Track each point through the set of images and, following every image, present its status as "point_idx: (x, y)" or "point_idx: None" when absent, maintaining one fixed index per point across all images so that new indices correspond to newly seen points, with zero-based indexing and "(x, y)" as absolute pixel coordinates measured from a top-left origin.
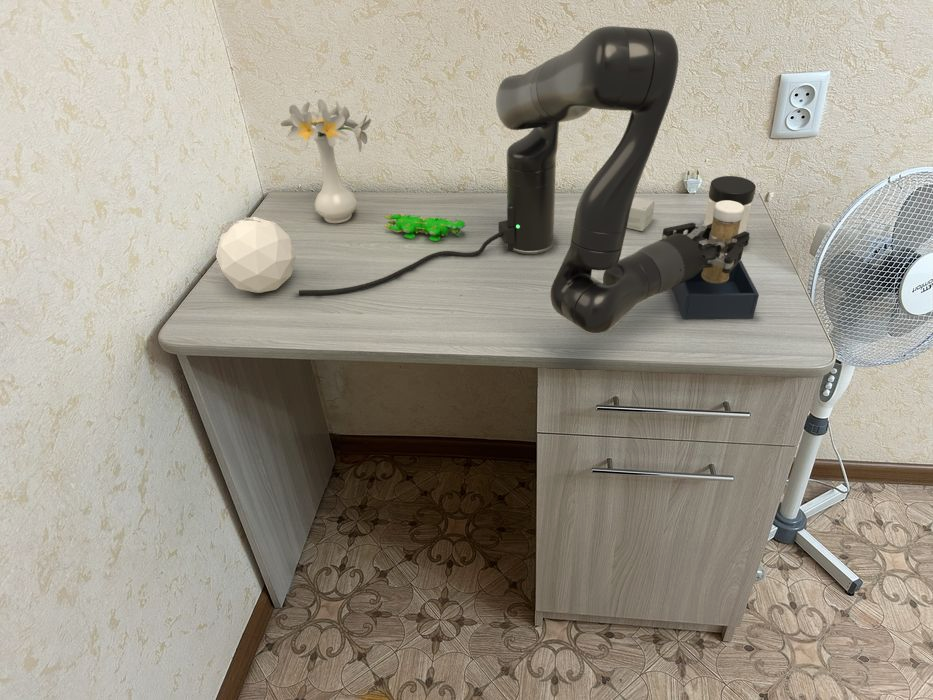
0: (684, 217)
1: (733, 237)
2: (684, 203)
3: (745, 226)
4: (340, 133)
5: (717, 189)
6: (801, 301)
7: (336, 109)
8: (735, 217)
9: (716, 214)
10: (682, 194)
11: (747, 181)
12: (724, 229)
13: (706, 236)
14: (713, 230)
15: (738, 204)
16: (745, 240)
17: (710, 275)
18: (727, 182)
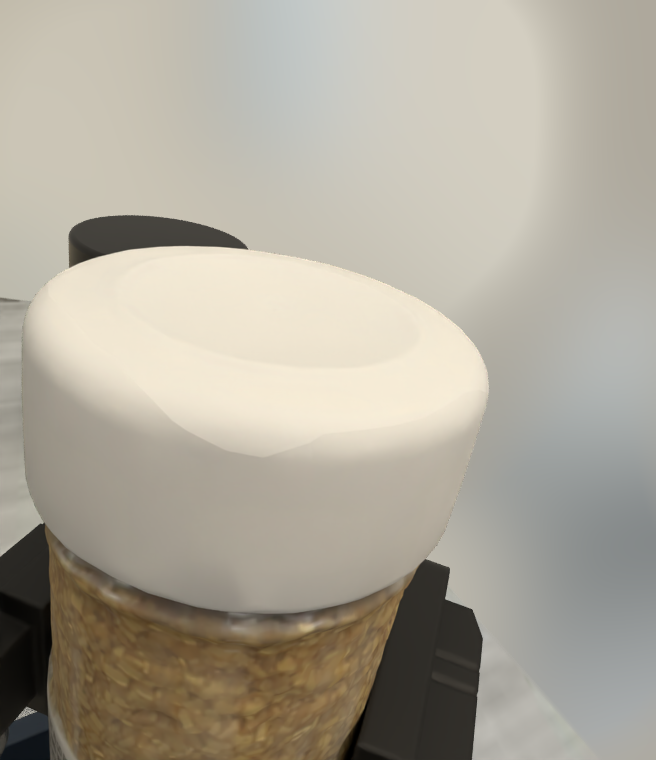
0: (13, 373)
1: (378, 737)
2: (16, 327)
3: None
4: None
5: (100, 254)
6: (563, 732)
7: None
8: (436, 508)
9: (75, 491)
10: (12, 302)
11: (212, 232)
12: (262, 707)
13: (17, 701)
14: (81, 704)
15: (367, 286)
16: (476, 692)
17: None
18: (139, 233)
